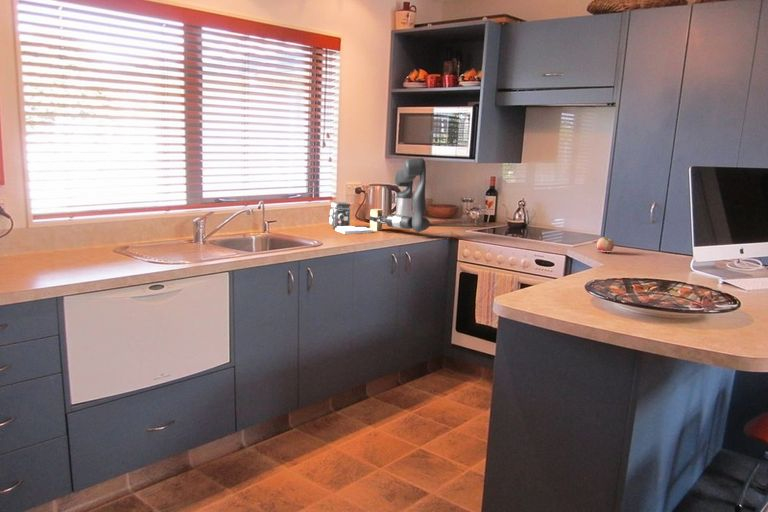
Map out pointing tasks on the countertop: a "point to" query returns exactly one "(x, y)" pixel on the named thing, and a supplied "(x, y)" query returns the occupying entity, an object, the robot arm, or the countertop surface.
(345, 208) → the camera
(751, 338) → the countertop surface
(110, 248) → the countertop surface
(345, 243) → the countertop surface
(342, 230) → the baseplate
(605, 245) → the fruit
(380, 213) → the light wooden block
